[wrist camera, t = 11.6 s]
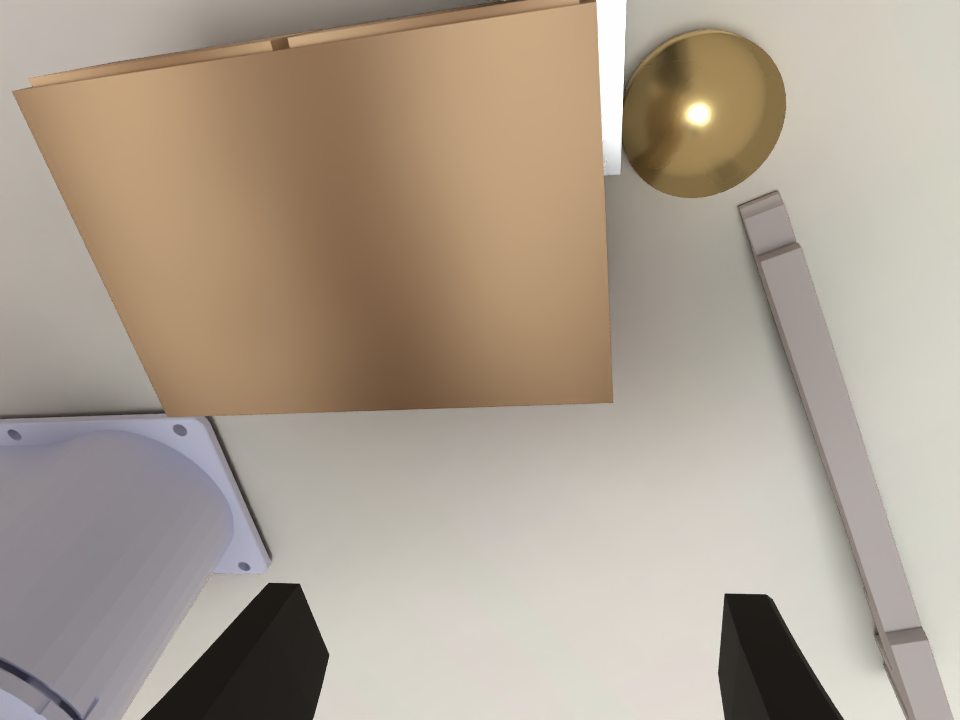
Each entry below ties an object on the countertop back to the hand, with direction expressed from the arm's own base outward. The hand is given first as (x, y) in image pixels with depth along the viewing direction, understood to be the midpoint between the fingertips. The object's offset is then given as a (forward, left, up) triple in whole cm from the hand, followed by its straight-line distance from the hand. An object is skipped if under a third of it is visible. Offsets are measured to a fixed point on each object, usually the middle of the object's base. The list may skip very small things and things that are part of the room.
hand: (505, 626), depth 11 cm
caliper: (+9, -6, -10) cm, 15 cm away
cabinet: (-3, +6, -10) cm, 12 cm away
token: (+4, +6, -10) cm, 13 cm away
